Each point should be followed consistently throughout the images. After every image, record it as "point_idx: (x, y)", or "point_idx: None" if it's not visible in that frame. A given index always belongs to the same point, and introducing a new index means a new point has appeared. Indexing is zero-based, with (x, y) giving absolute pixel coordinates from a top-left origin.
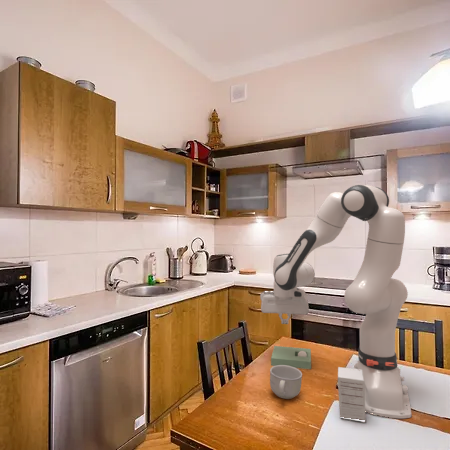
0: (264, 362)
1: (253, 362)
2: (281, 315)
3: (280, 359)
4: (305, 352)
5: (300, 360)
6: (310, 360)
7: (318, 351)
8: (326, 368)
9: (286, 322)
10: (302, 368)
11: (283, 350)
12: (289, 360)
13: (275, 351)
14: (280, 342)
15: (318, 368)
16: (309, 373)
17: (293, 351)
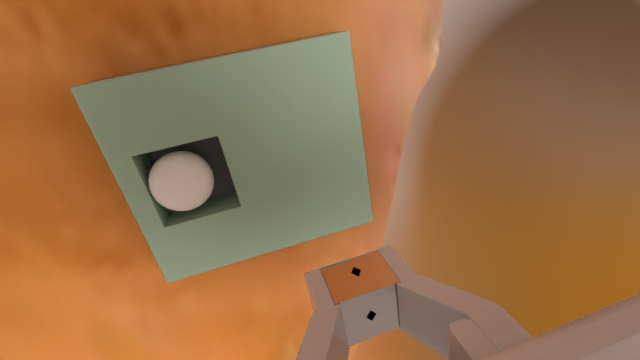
0: (379, 58)
1: (433, 31)
2: (458, 328)
3: (287, 43)
4: (158, 196)
5: (151, 78)
6: (85, 110)
7: (157, 322)
8: (6, 140)
9: (332, 276)
10: (147, 70)
11: (309, 185)
12: (227, 55)
13: (349, 149)
14: None
15: (54, 117)
16: (72, 12)
17: (249, 199)
